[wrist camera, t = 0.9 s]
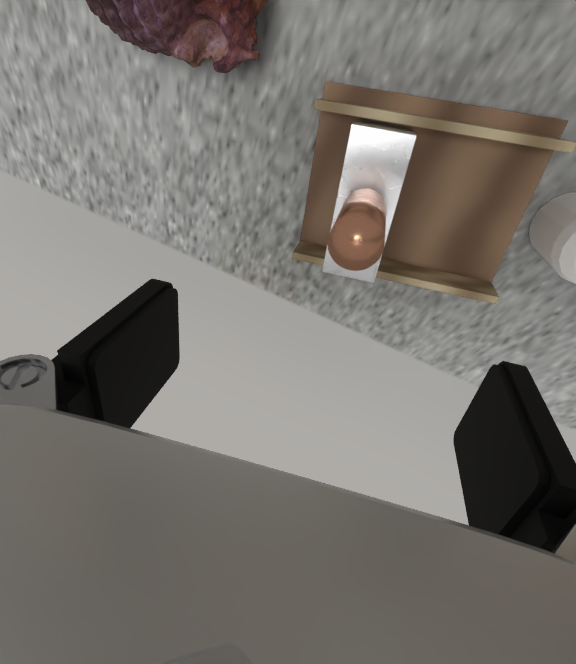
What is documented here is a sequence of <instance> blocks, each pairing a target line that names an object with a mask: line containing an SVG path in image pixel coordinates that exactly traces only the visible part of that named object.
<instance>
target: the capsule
mask: <svg viewBox="0 0 576 664" xmlns="http://www.w3.org/2000/svg"><path fill="white" fill-rule="evenodd" d="M528 234H529V238H530V242H531V245H532V246H533V247H534V248H535V250H536V251H537V252H538V253H539V254H540V255H541V256H542V257H543V258H544V259H545V260H546V261H547V262H548V263H549V265H550V266H551V267H552V268H553V269H554V270H555V271H556V272H557V273H558V274H559V275H560V276H561V277H562V278H563V279H565V280H567V281H570V282H572V283H575V284H576V192H575V193H566V194H564V195H561V196H558V197H556V198H553V199H552V200H550V201H549V202H548V203H546V204H545V205H544V206H543V207H541V208H540V209H539V210H538V212H537V213H536V215H535V216H534V218H533V219H532V221H531V224H530V229H529V233H528Z"/></svg>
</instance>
